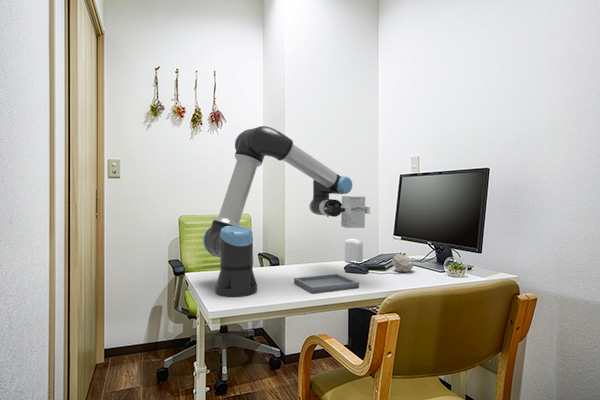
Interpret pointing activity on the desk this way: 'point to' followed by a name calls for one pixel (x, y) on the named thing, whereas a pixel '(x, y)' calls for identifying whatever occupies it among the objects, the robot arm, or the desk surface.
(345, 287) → the tray
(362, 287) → the desk surface
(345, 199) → the supplement box
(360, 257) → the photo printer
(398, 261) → the fossil replica
